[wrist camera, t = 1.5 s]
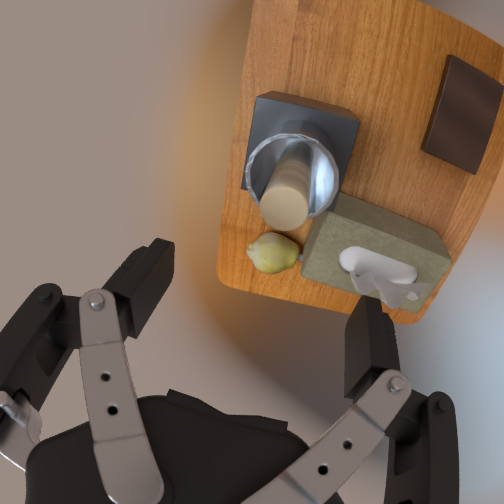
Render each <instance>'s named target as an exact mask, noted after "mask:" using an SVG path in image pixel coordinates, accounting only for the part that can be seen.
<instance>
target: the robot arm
mask: <svg viewBox="0 0 504 504" xmlns="http://www.w3.org/2000/svg"><path fill="white" fill-rule="evenodd" d="M174 252H175V245H174V242H170V241H167V240H163V239H160V238H156V239H155V240H154V241H153V242H152V243H151V245H150V246H149V247H145V246H142V247H140V248H139V249H136V250H135V251H133V252H132V253H131V254H130V255H129V257H128V258H127V259H126V261H124V262H123V263H122V265H121V267H119V268H118V269H117V270H116V271H115V273H114V274H113V275H112V276H111V277H110V279H109V280H108V281H107V282H106V283H105V285H104V286H103V287H102V288H101V289H93V290H90V291H88V292H86V293H85V294H84V295H83V296H82V297H75V296H66V295H63V294H62V291H61V288H60V287H59V286H58V285H56V284H53V283H46V284H42V285H40V286H38V287H37V288H36V289H35V290H34V291H33V292H32V293H31V294H30V295H29V297H28V298H27V299H26V300H25V301H24V303H23V304H22V305H21V306H20V308H19V309H18V310H17V311H16V313H15V314H14V315H13V316H12V318H11V319H10V320H9V322H8V323H7V324H6V326H5V327H4V328H3V330H2V331H1V332H0V455H2V456H4V457H5V458H7V459H8V460H10V461H11V462H12V463H14V464H15V465H16V466H18V467H19V468H21V469H22V470H24V471H25V475H26V500H25V504H344V502H343V501H342V499H341V498H340V496H339V494H338V493H337V490H338V489H339V488H340V487H341V486H342V485H343V484H344V483H345V482H346V481H347V480H348V478H350V476H351V475H352V474H353V473H354V472H355V471H356V470H357V469H358V468H359V466H360V465H361V464H362V463H363V462H364V461H365V459H366V458H367V457H368V456H369V455H370V453H371V452H372V451H373V450H374V449H375V447H376V446H377V445H378V444H379V442H380V441H381V440H382V439H383V437H384V436H387V437H389V454H388V467H387V478H386V488H385V498H384V504H459V452H458V437H457V425H456V415H455V408H454V404H453V402H452V400H451V398H450V397H449V396H448V395H446V394H445V393H443V392H439V391H438V392H434V393H432V394H431V395H430V396H429V397H427V396H425V395H423V394H421V393H419V392H416V391H415V390H413V389H411V384H410V381H409V379H408V378H407V377H406V376H405V375H404V374H403V373H402V372H401V371H400V364H399V356H398V349H397V343H396V336H395V330H394V324H393V322H392V320H391V318H390V317H389V315H388V313H384V312H382V306H381V300H380V299H378V298H374V297H371V296H367V295H362V296H361V298H360V299H359V301H358V303H357V305H356V307H355V308H354V310H353V312H352V314H351V315H350V317H349V319H348V321H347V324H346V328H345V381H344V383H345V385H344V398H349V399H353V405H352V406H351V407H350V408H349V410H347V412H345V414H344V415H343V416H342V417H341V418H340V419H339V420H338V421H337V422H336V423H335V424H334V425H333V426H332V427H330V428H329V429H328V430H327V431H326V432H325V433H324V434H323V435H322V436H321V437H320V438H319V439H318V440H317V441H316V442H314V443H313V444H312V445H311V446H310V447H309V446H308V445H307V444H306V443H305V442H304V441H303V440H302V439H301V438H299V437H298V436H297V435H296V434H294V433H292V432H291V431H288V430H287V425H288V422H285V421H281V420H276V419H271V418H267V417H262V416H254V415H253V416H252V415H228V414H224V413H222V412H221V411H219V410H217V409H215V408H213V407H212V406H210V405H208V404H207V403H204V402H203V401H201V400H200V399H198V398H195V397H192V396H189V395H186V394H183V393H180V392H177V391H174V390H171V389H169V391H168V393H167V396H164V395H153V396H145V397H141V398H137V395H136V392H135V388H134V384H133V380H132V376H131V372H130V368H129V364H128V360H127V356H126V351H125V346H124V341H125V340H126V338H127V336H130V337H132V338H135V339H137V337H138V336H139V334H140V332H141V331H142V329H143V327H144V325H145V324H146V322H147V321H148V319H149V317H150V316H151V314H152V312H153V311H154V309H155V308H156V306H157V304H158V303H159V301H160V300H161V298H162V296H163V295H164V293H165V292H166V290H167V288H168V287H169V285H170V283H171V281H172V278H173V274H174ZM74 349H79V355H80V365H81V373H82V380H83V387H84V394H85V400H86V406H87V411H88V416H89V421H88V422H85V423H83V424H81V425H79V426H76V427H74V428H72V429H69V430H67V431H65V432H62V433H60V434H57V435H55V436H53V437H50V438H47V439H45V440H43V441H41V442H40V440H39V435H40V433H41V427H42V420H41V416H40V414H39V413H38V412H39V410H40V408H41V407H42V405H43V403H44V401H45V399H46V397H47V395H48V394H49V392H50V390H51V388H52V386H53V384H54V383H55V381H56V379H57V377H58V376H59V374H60V372H61V370H62V368H63V367H64V365H65V364H66V362H67V360H68V358H69V357H70V355H71V353H72V352H73V350H74Z"/></svg>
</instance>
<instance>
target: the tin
mask: <svg viewBox="0 0 504 504" xmlns="http://www.w3.org/2000/svg"><path fill="white" fill-rule="evenodd" d="M294 142H300V143H303V144H305V145H307V146H308V147H309V148H310V150H311V151H312V154H313V165H312V178H311V190H310V201H309V212H308V216H307V219H309V218H312V217H315V216H317V215H319V214H320V213H322V212H323V211H324V210H325V209H326V208H328V207H329V206H330V204H331V203H332V201H333V199H334V197H335V195H336V193H337V191H338V187H339V170H338V164H337V159H336V154H335V149H334V147H333V144H332V142H331V140H330V137H329V136H328V135H327V134H326V133H325V132H324V131H323V130H322V129H321V128H320V127H319V126H318V125H315V124H313V123H310V122H308V121H305V120H288V121H285V122H283V123H280V124H278V125H276V126H274V127H273V128H272V130H271V131H270V132H269V133H268V134H267V135H266V136H265V137H264V138H263V139H262V141H261V142H260V143H259V144H258V145H257V147H256V148H255V149H254V150H253V152H252V153H251V154H250V157H249V160H248V163H247V166H246V169H245V176H246V187H247V189H248V191H249V193H250V195H251V197H252V199H253V201H254V202H255V203H256V204H257V205H258V206H259V205H260V201H261V198H262V196H263V194H264V192H265V189H266V187H267V185H268V183H269V180H270V178H271V176H272V174H273V172H274V169H275V167H276V165H277V163H278V161H279V158H280V156H281V154H282V152H283V150H284V148H285V147H286V146H287V145H289V144H291V143H294Z"/></svg>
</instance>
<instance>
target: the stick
mask: <svg viewBox="0 0 504 504" xmlns="http://www.w3.org/2000/svg"><path fill="white" fill-rule="evenodd" d="M312 165H313V154H312V151H311V150H310V148H309V147H308V146H307V145H305V144H303V143H300V142H294V143H291V144H289V145H287V146H286V147H285V148H284V150H283V152H282V154H281V156H280V158H279V161H278V163H277V165H276V167H275V169H274V172H273V174H272V176H271V178H270V180H269V183H268V185H267V187H266V189H265V192H264V194H263V196H262V198H261V201H260V205H259V209H260V214H261V216H262V218H263V220H264V221H265V222H266V223H267V224H268V225H269V226H270V227H272V228H274V229H277V230H280V231H291V230H294V229H296V228H298V227H300V226H301V225H302V224H303V223H304V222H305V221H306V219H307V216H308V212H309V201H310V190H311V178H312Z"/></svg>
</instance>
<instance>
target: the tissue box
mask: <svg viewBox="0 0 504 504" xmlns="http://www.w3.org/2000/svg"><path fill="white" fill-rule="evenodd" d="M452 263H453V262H452V259H451V257H450V255H449V253H448V252H447V250H446V248H445V246H444V244H443V243H442V241H441V239H440V237H439V235H438V234H437V232H436V231H434V230H432V229H430V228H428V227H425V226H423V225H421V224H419V223H416V222H414V221H412V220H409V219H407V218H405V217H402V216H400V215H398V214H395V213H393V212H390V211H388V210H386V209H383V208H381V207H378V206H376V205H373V204H371V203H368V202H365V201H363V200H360V199H358V198H355V197H352V196H350V195H347V194H344V193H342V192H340V193H339V196H338V199H337V202H336V205H335V209H334V212H330V211H327V210H324V211H323V212H322V213H320V214H319V215H317V216H315V219H314V221H313V224H312V226H311V229H310V231H309V234H308V236H307V239H306V241H305V243H304V251H303V258H302V267H301V276H302V277H304V278H307V279H310V280H314V281H317V282H320V283H323V284H326V285H329V286H332V287H335V288H338V289H341V290H345V291H348V292H351V293H354V294H357V295H360V296H362V295H367V296H371V297H374V298H378V299H380V300H381V302H382V303H385V304H386V305H387V306H388V307H390V308H391V309H396V308H401V309H404V310H407V311H410V312H414V313H417V312H418V311H419V309H420V308H421V307H422V305H423V304H424V303H425V301H426V300H427V299H428V297H429V296H430V295H431V293H432V292H433V290H434V289H435V288H436V286H437V285H438V283H439V282H440V280H441V279H442V278H443V276H444V275H445V273H446V272H447V270H448V269H449V267H450V266H451V264H452Z"/></svg>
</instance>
